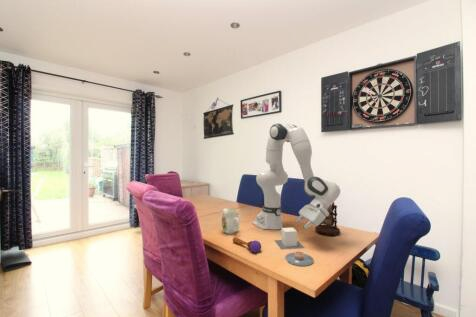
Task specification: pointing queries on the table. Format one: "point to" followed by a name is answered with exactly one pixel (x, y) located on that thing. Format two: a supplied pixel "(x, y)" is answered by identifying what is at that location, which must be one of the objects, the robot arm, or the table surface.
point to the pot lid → (299, 259)
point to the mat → (288, 247)
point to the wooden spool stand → (329, 222)
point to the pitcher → (230, 221)
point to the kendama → (249, 244)
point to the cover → (289, 237)
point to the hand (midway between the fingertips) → (301, 225)
